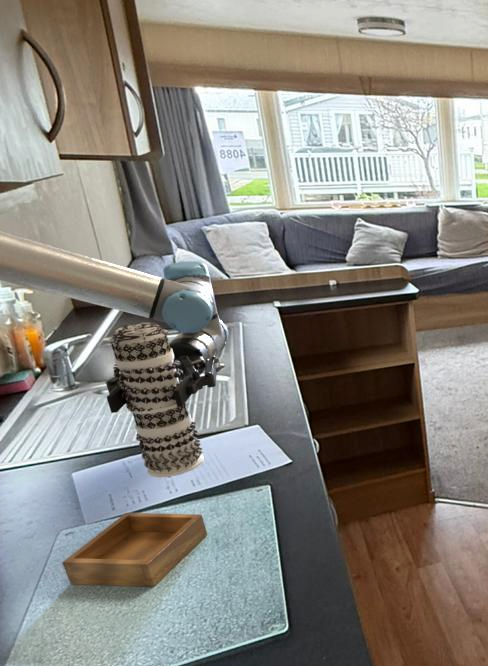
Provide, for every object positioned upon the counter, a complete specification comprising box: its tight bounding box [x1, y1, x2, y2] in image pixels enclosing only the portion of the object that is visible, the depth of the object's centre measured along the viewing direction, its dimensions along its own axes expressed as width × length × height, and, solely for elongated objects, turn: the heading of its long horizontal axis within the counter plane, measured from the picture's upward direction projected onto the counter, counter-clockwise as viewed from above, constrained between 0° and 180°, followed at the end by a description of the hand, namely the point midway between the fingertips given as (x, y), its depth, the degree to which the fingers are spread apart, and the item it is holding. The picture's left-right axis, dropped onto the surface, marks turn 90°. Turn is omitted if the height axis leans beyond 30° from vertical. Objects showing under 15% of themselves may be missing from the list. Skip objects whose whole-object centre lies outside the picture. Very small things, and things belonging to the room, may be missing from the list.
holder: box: [61, 512, 208, 588], centre depth 102 cm, size 13×13×4 cm
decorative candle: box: [107, 322, 205, 478], centre depth 108 cm, size 9×9×25 cm
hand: (145, 401), depth 103 cm, fingers closed on decorative candle, 8 cm apart
